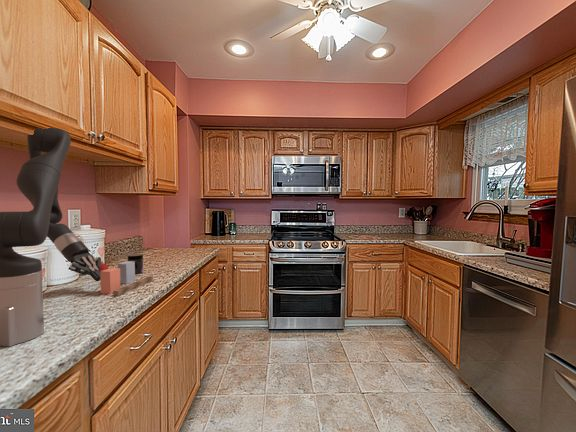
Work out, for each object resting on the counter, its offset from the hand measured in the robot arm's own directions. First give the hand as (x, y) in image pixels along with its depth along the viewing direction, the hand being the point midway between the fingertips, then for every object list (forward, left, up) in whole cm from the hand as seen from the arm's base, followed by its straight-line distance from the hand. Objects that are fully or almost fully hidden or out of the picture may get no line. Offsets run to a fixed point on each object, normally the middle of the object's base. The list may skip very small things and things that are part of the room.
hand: (100, 279), depth 102 cm
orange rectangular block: (0, -4, -4) cm, 6 cm away
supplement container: (+26, +5, -6) cm, 27 cm away
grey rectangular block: (+12, -2, -4) cm, 13 cm away
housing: (+6, -4, -6) cm, 9 cm away
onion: (+20, +18, -6) cm, 27 cm away
